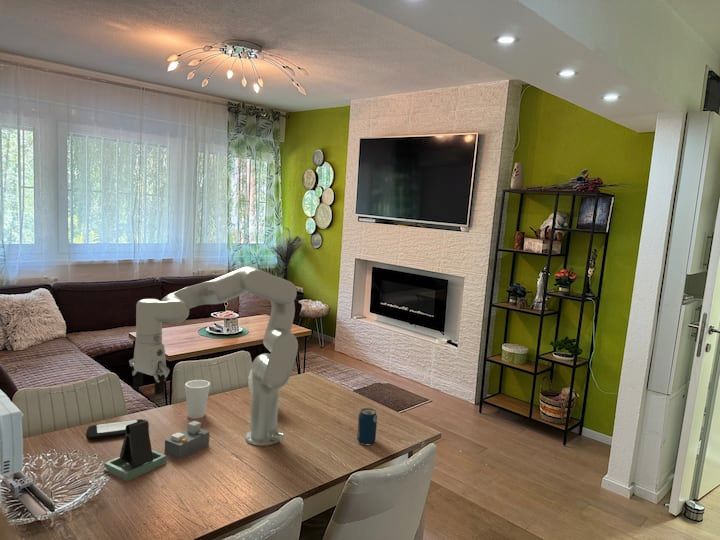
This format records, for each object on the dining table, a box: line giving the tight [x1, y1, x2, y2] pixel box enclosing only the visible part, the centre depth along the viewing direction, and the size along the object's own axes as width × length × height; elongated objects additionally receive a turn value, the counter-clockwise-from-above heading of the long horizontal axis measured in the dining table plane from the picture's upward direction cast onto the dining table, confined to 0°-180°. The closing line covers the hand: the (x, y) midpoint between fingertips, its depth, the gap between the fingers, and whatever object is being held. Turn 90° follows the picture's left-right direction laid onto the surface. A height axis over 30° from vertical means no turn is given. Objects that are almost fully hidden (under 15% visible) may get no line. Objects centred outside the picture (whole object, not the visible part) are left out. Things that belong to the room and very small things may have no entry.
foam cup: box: [184, 379, 211, 419], centre depth 194 cm, size 10×9×13 cm
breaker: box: [187, 420, 202, 435], centre depth 170 cm, size 3×3×4 cm
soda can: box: [356, 408, 378, 445], centre depth 182 cm, size 7×7×12 cm
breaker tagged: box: [170, 432, 185, 442], centre depth 164 cm, size 3×3×4 cm
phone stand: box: [119, 419, 153, 467], centre depth 153 cm, size 9×6×12 cm, turn 54°
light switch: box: [85, 418, 144, 441], centre depth 177 cm, size 20×3×14 cm
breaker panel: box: [163, 428, 210, 461], centre depth 167 cm, size 7×13×6 cm, turn 152°
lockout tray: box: [103, 449, 167, 482], centre depth 154 cm, size 11×14×2 cm
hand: (148, 390), depth 156 cm, fingers open, 9 cm apart
